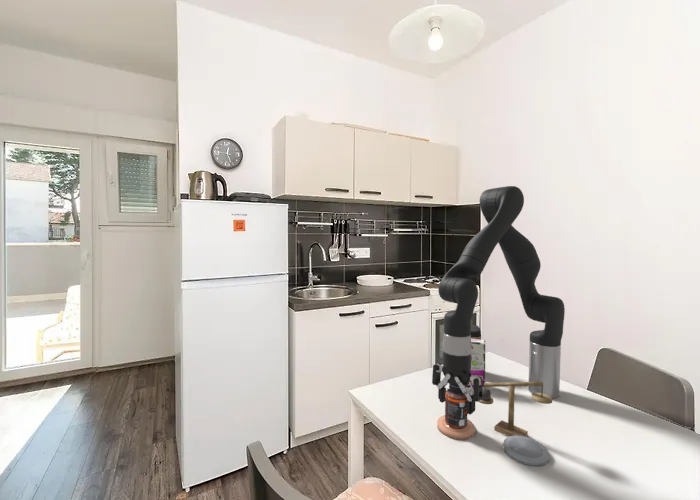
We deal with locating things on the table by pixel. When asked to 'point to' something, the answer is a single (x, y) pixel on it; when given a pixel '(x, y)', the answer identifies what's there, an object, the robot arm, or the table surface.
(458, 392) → the supplement bottle
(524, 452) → the slate dish
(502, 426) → the balance
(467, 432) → the terracotta dish
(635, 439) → the table surface
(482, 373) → the candy bar box
